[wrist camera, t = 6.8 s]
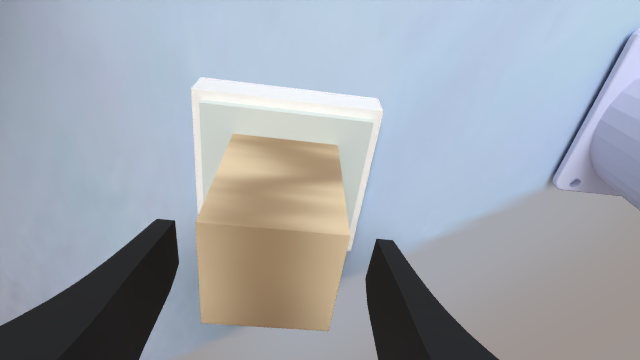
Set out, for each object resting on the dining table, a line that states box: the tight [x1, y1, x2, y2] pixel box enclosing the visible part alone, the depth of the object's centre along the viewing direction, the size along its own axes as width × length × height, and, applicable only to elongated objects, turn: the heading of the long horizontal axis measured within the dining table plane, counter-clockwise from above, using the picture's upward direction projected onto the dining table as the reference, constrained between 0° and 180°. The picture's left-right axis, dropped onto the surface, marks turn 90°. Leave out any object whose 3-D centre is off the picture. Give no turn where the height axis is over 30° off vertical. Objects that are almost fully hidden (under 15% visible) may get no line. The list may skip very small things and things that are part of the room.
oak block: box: [195, 134, 350, 331], centre depth 14 cm, size 4×4×6 cm
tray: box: [191, 77, 383, 251], centre depth 18 cm, size 8×8×2 cm
